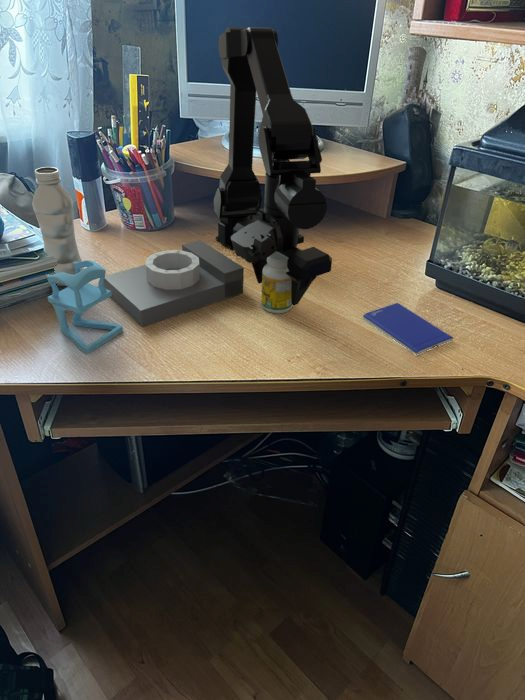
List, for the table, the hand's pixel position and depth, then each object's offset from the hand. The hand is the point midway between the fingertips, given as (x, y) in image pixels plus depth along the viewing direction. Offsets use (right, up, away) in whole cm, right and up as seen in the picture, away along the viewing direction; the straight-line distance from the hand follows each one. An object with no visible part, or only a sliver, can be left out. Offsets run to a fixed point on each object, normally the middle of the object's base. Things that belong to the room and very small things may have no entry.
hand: (277, 293), depth 93 cm
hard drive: (+21, -7, -3) cm, 22 cm away
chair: (-30, -7, -8) cm, 32 cm away
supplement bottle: (0, -2, +2) cm, 3 cm away
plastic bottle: (-38, +2, +6) cm, 38 cm away
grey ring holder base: (-18, +1, +4) cm, 19 cm away
